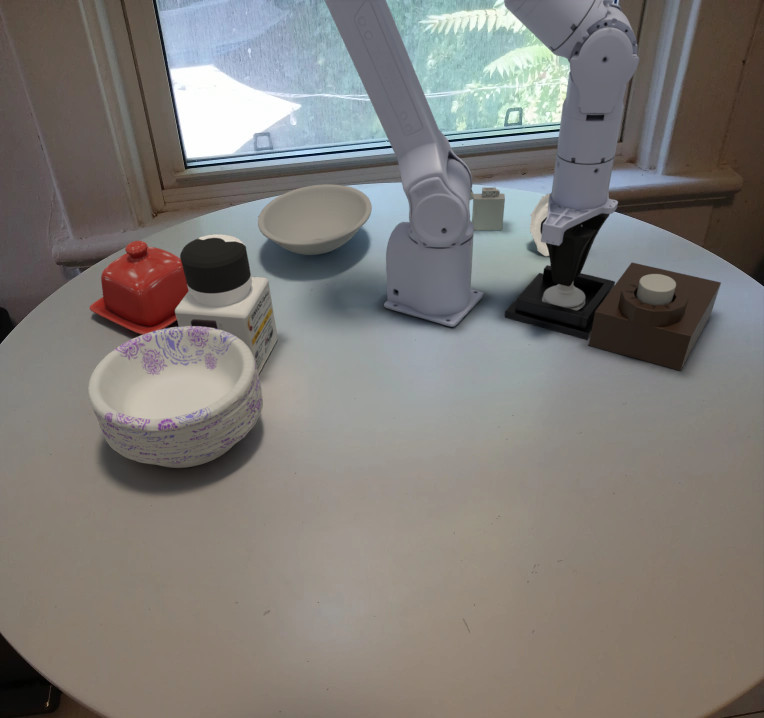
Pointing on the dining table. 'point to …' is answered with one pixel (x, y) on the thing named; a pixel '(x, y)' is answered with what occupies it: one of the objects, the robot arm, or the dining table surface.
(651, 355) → the brown push button box
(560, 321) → the pan
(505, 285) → the dining table surface
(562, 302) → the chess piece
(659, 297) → the button
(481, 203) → the lighter
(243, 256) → the container
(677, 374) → the dining table surface
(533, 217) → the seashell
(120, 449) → the paper bowls
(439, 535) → the dining table surface
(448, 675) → the dining table surface
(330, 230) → the dish
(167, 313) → the butter dish
